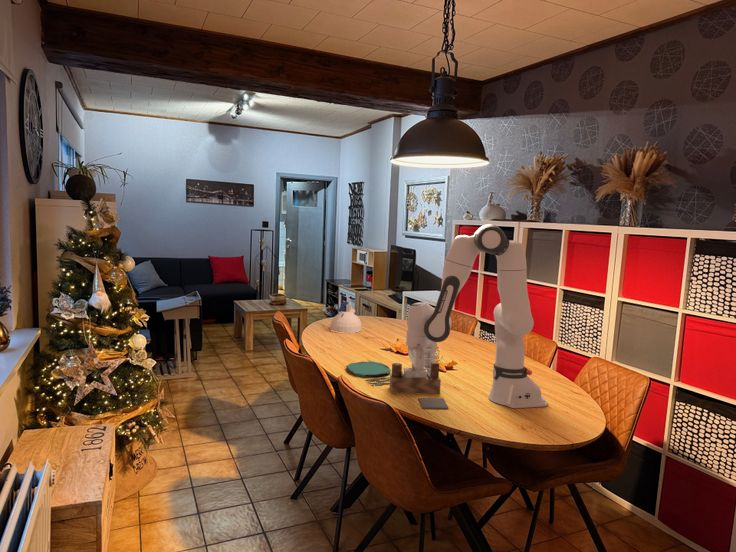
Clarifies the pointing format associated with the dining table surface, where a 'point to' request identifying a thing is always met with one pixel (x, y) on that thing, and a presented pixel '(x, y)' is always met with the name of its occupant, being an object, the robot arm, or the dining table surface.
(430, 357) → the plastic bottle
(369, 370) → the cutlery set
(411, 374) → the lever cap
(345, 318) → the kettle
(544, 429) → the dining table surface
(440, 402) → the rubber mat
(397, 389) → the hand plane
